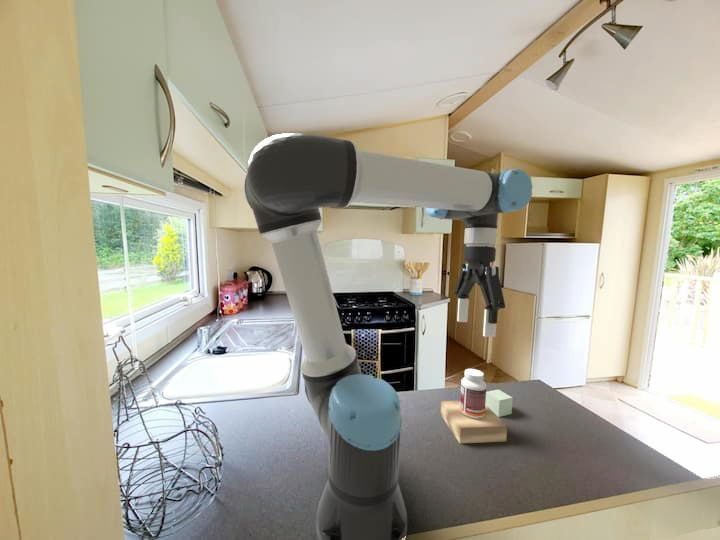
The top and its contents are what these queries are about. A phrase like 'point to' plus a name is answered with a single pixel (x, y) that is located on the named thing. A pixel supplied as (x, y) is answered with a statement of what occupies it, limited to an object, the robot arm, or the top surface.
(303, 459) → the top surface
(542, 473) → the top surface
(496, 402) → the sage cube
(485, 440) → the oak block
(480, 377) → the pill bottle
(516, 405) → the top surface
